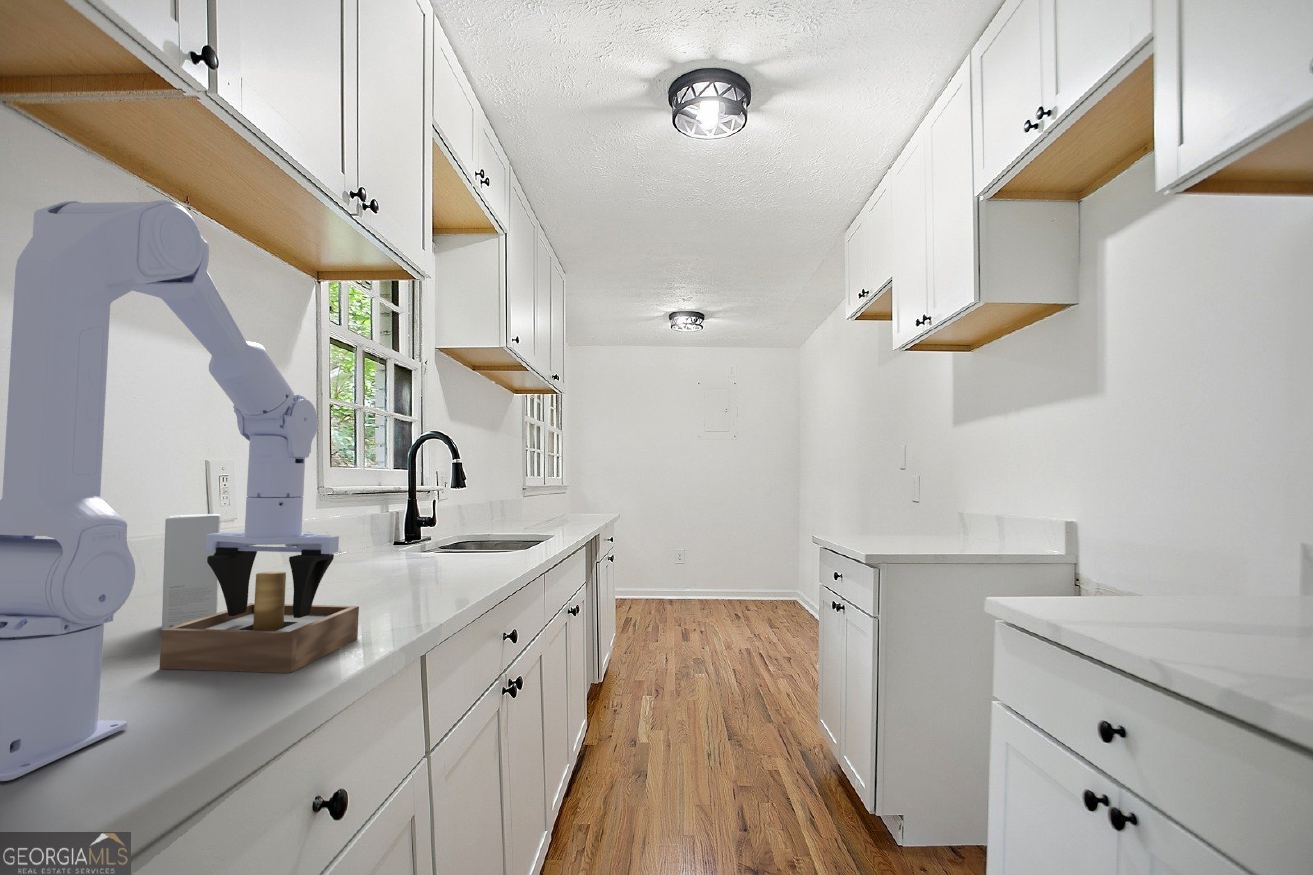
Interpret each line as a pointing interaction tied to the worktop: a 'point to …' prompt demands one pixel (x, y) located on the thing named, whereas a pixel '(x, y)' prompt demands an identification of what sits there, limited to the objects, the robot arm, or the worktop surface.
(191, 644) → the tray
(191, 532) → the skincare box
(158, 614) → the worktop surface
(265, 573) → the peg
